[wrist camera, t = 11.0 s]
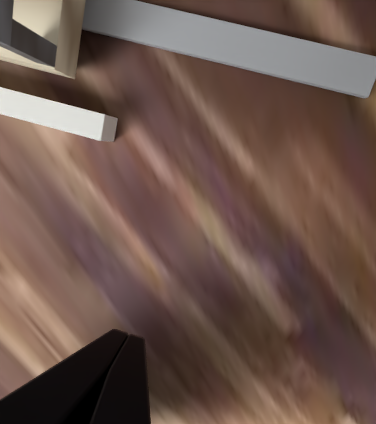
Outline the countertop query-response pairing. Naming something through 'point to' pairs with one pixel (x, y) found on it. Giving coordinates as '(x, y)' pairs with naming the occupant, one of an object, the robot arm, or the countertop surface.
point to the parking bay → (201, 48)
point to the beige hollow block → (42, 34)
